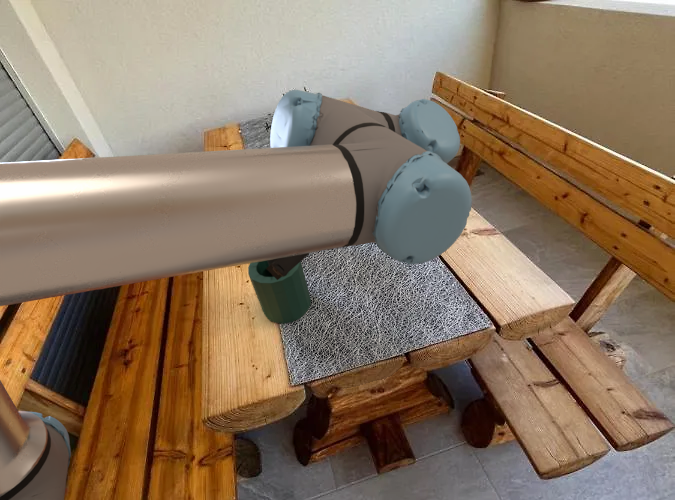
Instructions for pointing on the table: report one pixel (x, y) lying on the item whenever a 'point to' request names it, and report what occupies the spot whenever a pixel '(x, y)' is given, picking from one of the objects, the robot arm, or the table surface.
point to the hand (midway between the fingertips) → (297, 249)
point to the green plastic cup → (280, 292)
